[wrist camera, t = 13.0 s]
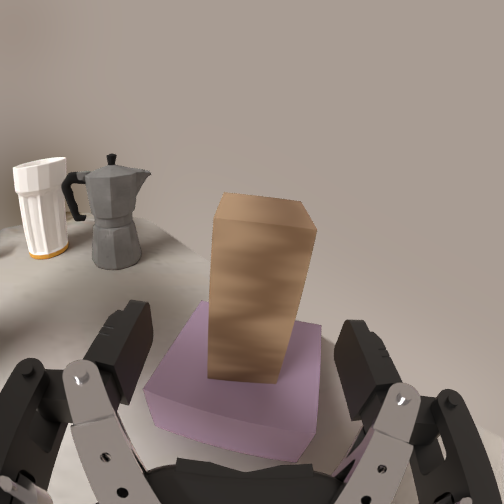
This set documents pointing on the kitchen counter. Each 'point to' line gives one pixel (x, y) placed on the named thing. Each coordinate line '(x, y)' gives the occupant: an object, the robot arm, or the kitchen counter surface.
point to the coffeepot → (110, 211)
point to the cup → (43, 205)
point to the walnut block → (255, 284)
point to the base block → (238, 396)
